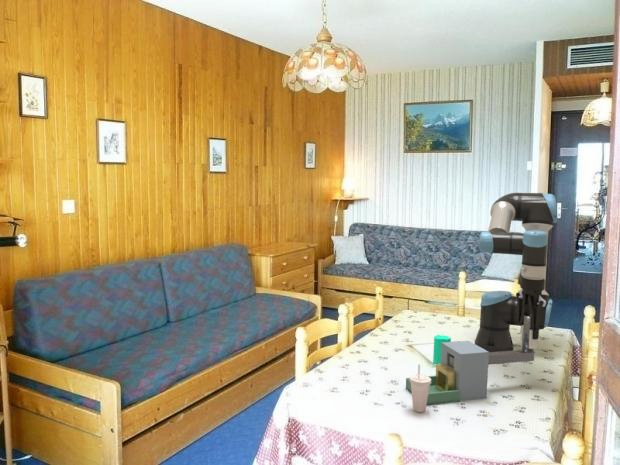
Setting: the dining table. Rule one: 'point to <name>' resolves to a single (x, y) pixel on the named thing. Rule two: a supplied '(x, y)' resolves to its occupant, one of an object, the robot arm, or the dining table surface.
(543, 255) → the robot arm
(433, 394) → the tray
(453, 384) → the spacer
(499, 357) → the l-shaped bracket
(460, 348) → the bearing block
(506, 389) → the dining table surface
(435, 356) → the candle
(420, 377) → the smoothie
